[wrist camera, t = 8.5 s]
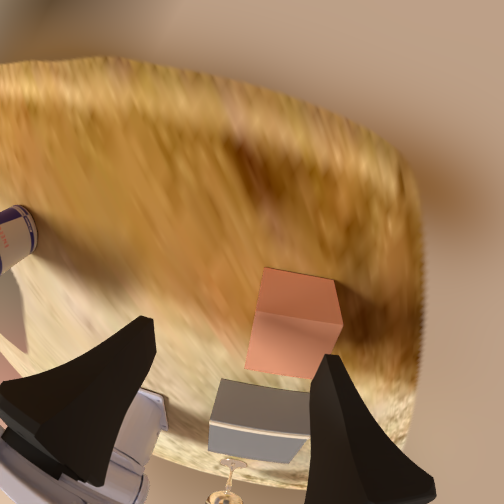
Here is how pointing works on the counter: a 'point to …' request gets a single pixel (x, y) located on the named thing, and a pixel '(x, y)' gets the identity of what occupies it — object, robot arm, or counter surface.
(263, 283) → the salmon pink cube
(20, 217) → the energy drink
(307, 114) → the counter surface
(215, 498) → the wineglass
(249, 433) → the block
